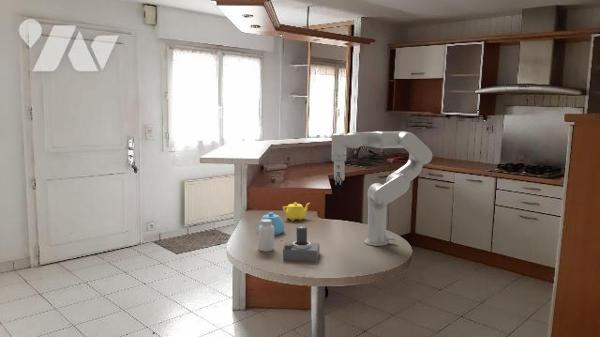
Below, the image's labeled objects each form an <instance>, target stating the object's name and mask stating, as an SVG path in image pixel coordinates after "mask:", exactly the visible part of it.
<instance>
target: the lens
mask: <svg viewBox="0 0 600 337" xmlns="http://www.w3.org/2000/svg"><path fill="white" fill-rule="evenodd" d="M295 229H296V232H295V233H296V234H295V235H296V236H295V237H296V241H297V245H307V241H308V227H307V226H305V225H300V226H297V227H296V228H295Z"/></svg>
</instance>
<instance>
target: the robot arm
mask: <svg viewBox="0 0 600 337" xmlns="http://www.w3.org/2000/svg"><path fill="white" fill-rule="evenodd" d="M360 147H371V148H375V149H405V150H406V151H407V152H408V154H409V156H408V160H407V162H406V163H405V164H404V165H402V166H401V167H399V168H398V169H397V170H395V171H393V172H392V173H390V174H389V175H388V176H387V177H386V180H385V183H384V184H382V183H379V182H375V183H372V184H371V185H369V187H368V189H367V206H368V207H367V210H368V211H367V237H366V238H365V239H364V244H366V245H369V246H374V247H375V246H376V247H377V246H378V247H382V246H387V245H389V243H390V242H389V241H393V242H394V241H395V240H396V238H395V236H392V235H387V208H388V206H387V205H389V204H391V203H392V202H393V201H395V200H397V199H398V198H400V197H401V196H402V195H404V194H406V192H408V191H409V189H410V186H411V181H412V180H414V179H416V178H417V177H418V176H419V175H420V173H421V172H422V170H423V166H424V165H427V164H429V163H431V161H432V159H433V152H432V150H431V149H430V148H429V147H428V146H427V145H426V144H425V143H424V142H423V141H421V139H420V138H419V137H418V136H417V135H415V134H414V133H412V132H410V131H403V130H401V131H400V130H399V131H397V130H395V131H394V130H393V131H356V132H355V131H350V132H348V133H346V134H345V133H338V132H337V133H333V134H332V135H331V161H332V162H333V179H334V181H335V184H334V193H339V194H341V193H342V190H343V181H345V174H346V173H345V171H346V169H345V167H346V166H345V162H347V148H348V149H349V148H352V149H358V148H360Z"/></svg>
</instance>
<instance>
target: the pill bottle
mask: <svg viewBox="0 0 600 337" xmlns="http://www.w3.org/2000/svg"><path fill="white" fill-rule="evenodd" d="M260 220H261V219H260ZM271 224H272V221H271V220H270V219H263V220H261V225H260V226H259V228H258V227H257V231H258V233H257V234H258V237H257V240H258V243H257V244H258V250H259V251H261V252H272V251H273V250H275V235H274V226H273V225H271Z"/></svg>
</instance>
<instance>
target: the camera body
mask: <svg viewBox="0 0 600 337" xmlns="http://www.w3.org/2000/svg"><path fill="white" fill-rule="evenodd" d="M320 245H321V244H320V243H319V242H310V241H309V240H307V245H297V240H295V241H287V242H285V243H284V246H283V249H282V260H285V261H286V260H287V261H306V262H318V259H319V256H320V250H321V249H320V248H321V247H320Z"/></svg>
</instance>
